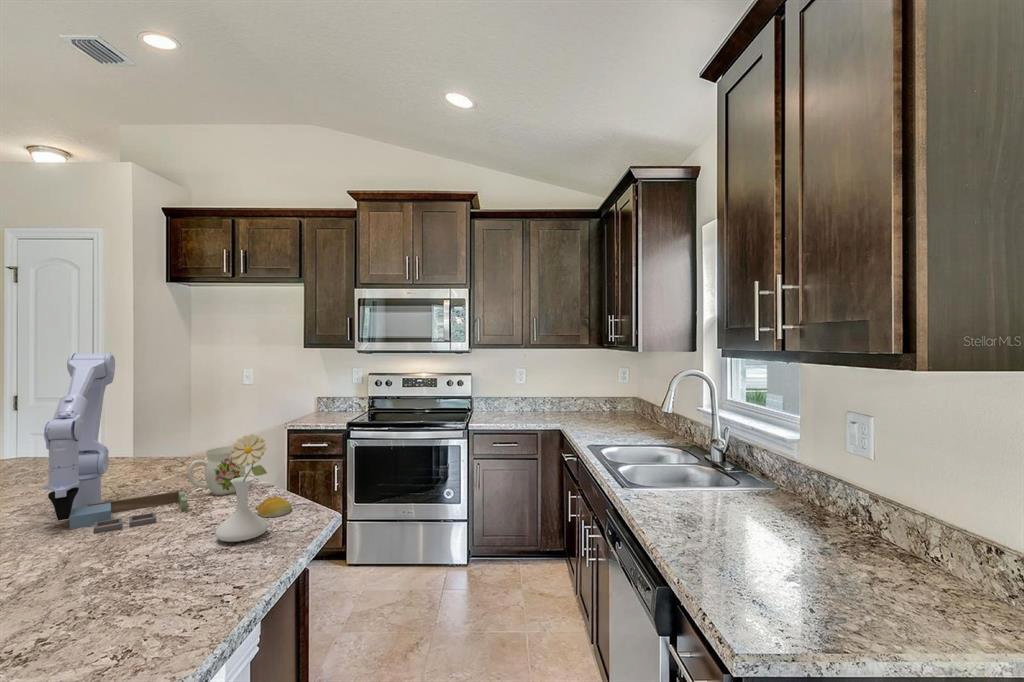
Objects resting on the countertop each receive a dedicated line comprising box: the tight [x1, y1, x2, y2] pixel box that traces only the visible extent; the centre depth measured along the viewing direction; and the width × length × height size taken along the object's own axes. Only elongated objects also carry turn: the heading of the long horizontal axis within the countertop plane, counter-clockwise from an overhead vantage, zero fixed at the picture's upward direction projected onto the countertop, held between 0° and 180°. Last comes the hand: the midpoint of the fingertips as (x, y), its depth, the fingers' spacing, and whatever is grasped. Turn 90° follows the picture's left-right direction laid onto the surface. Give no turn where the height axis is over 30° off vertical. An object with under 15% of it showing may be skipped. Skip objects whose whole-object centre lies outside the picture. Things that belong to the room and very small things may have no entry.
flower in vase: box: [214, 433, 270, 543], centre depth 122 cm, size 13×11×25 cm
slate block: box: [69, 503, 112, 530], centre depth 132 cm, size 8×8×4 cm
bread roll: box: [256, 496, 292, 518], centre depth 139 cm, size 8×9×4 cm
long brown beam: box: [87, 490, 188, 514], centre depth 139 cm, size 12×22×3 cm, turn 127°
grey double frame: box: [93, 512, 157, 535], centre depth 130 cm, size 6×12×1 cm, turn 127°
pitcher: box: [187, 445, 246, 496], centre depth 158 cm, size 11×18×14 cm, turn 131°
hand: (63, 519), depth 129 cm, fingers closed
